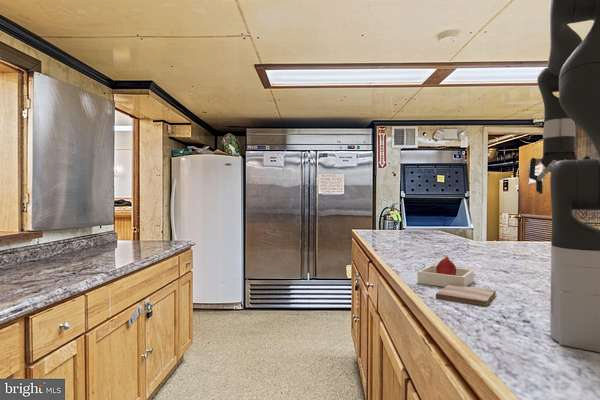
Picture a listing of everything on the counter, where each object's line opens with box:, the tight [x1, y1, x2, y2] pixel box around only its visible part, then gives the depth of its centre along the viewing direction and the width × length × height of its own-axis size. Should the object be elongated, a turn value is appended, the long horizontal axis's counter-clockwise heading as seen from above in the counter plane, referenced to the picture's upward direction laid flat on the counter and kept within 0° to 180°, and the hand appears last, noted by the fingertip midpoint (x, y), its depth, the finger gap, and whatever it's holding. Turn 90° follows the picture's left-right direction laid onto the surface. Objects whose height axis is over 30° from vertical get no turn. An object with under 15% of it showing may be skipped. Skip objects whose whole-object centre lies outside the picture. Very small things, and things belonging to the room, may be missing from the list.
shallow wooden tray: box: [416, 264, 475, 288], centre depth 116 cm, size 13×13×4 cm
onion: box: [436, 256, 457, 276], centre depth 116 cm, size 6×6×8 cm
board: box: [435, 284, 497, 307], centre depth 99 cm, size 13×12×1 cm
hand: (558, 194), depth 106 cm, fingers open, 8 cm apart
